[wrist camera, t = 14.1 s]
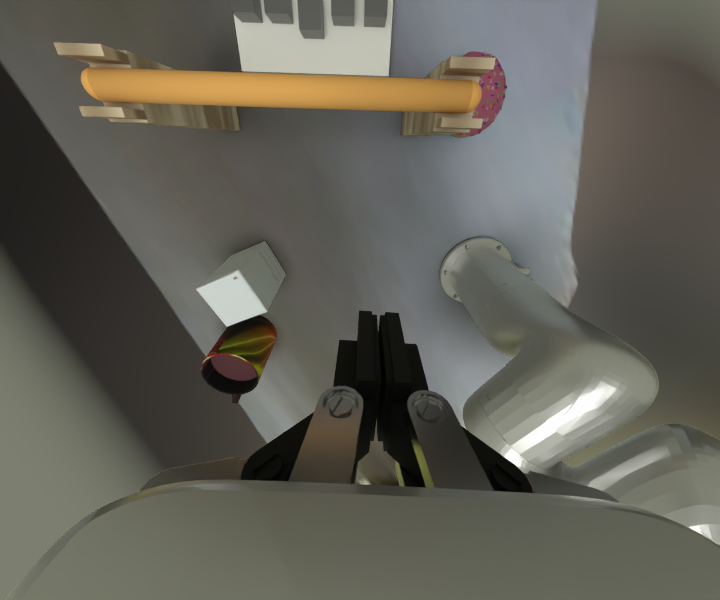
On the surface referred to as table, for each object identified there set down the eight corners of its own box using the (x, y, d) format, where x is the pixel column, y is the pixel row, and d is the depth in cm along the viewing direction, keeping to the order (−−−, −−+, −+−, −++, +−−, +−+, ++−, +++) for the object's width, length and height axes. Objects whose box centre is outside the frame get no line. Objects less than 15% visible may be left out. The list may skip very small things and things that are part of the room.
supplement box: (230, 254, 49) (193, 287, 38) (266, 239, 48) (238, 268, 37) (253, 289, 52) (225, 328, 41) (287, 275, 51) (268, 312, 40)
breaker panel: (394, -56, 31) (401, -96, 26) (386, 80, 37) (391, 70, 32) (231, -63, 30) (205, -104, 25) (250, 76, 36) (232, 65, 31)
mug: (250, 368, 62) (229, 413, 52) (220, 318, 56) (189, 359, 45) (290, 360, 61) (277, 404, 51) (265, 308, 55) (243, 348, 44)
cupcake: (427, 142, 40) (451, 142, 30) (425, 68, 36) (452, 38, 26) (487, 131, 40) (533, 128, 29) (492, 55, 36) (548, 20, 25)
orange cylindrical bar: (478, 83, 21) (489, 78, 19) (472, 114, 22) (482, 112, 20) (91, 70, 21) (66, 63, 19) (103, 103, 22) (81, 99, 20)
